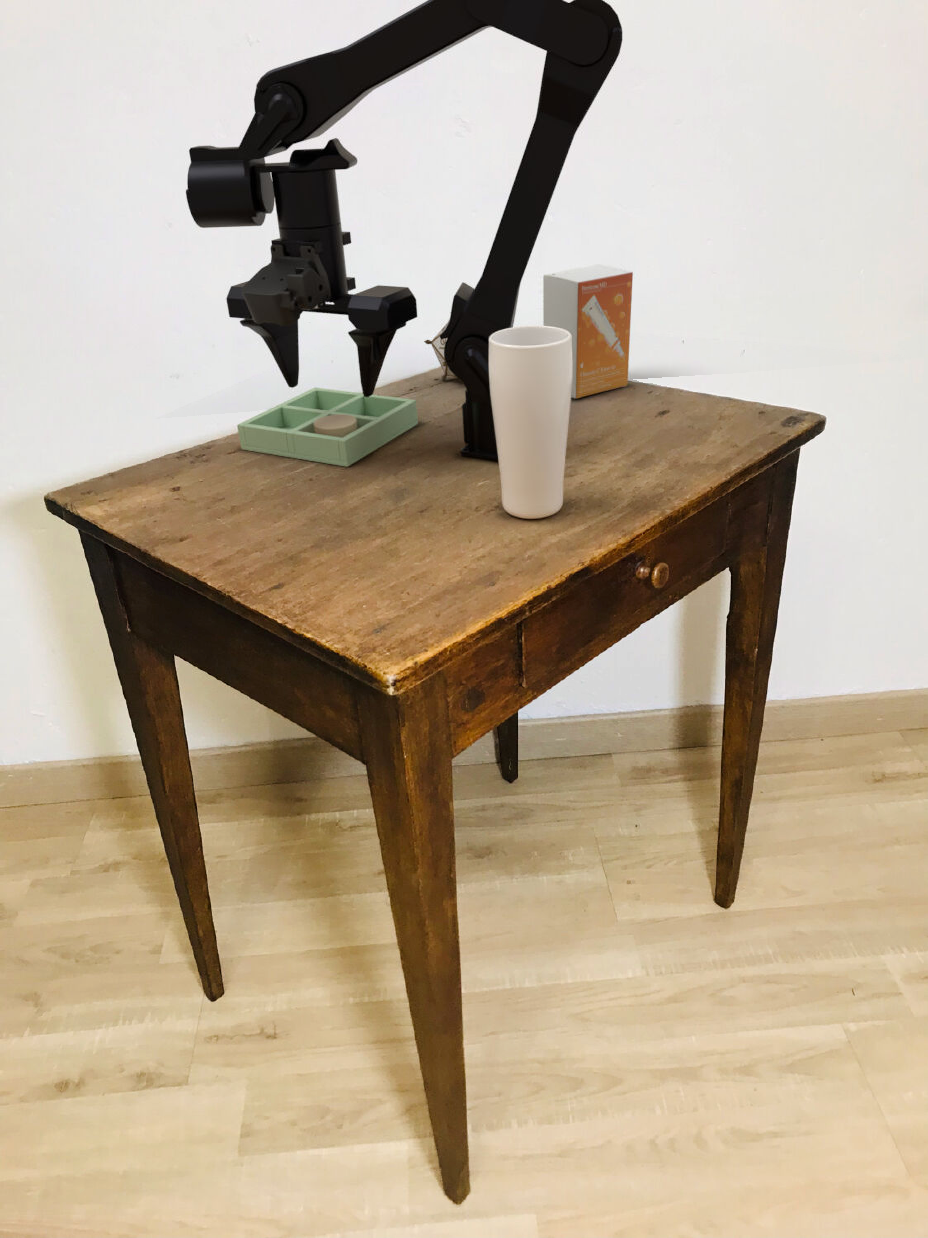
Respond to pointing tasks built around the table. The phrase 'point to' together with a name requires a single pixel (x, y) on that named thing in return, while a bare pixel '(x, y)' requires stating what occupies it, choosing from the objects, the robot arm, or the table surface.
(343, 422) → the cylinder
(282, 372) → the robot arm
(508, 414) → the drinking glass
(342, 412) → the grid
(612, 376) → the small box
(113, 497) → the table surface
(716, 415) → the table surface
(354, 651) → the table surface
